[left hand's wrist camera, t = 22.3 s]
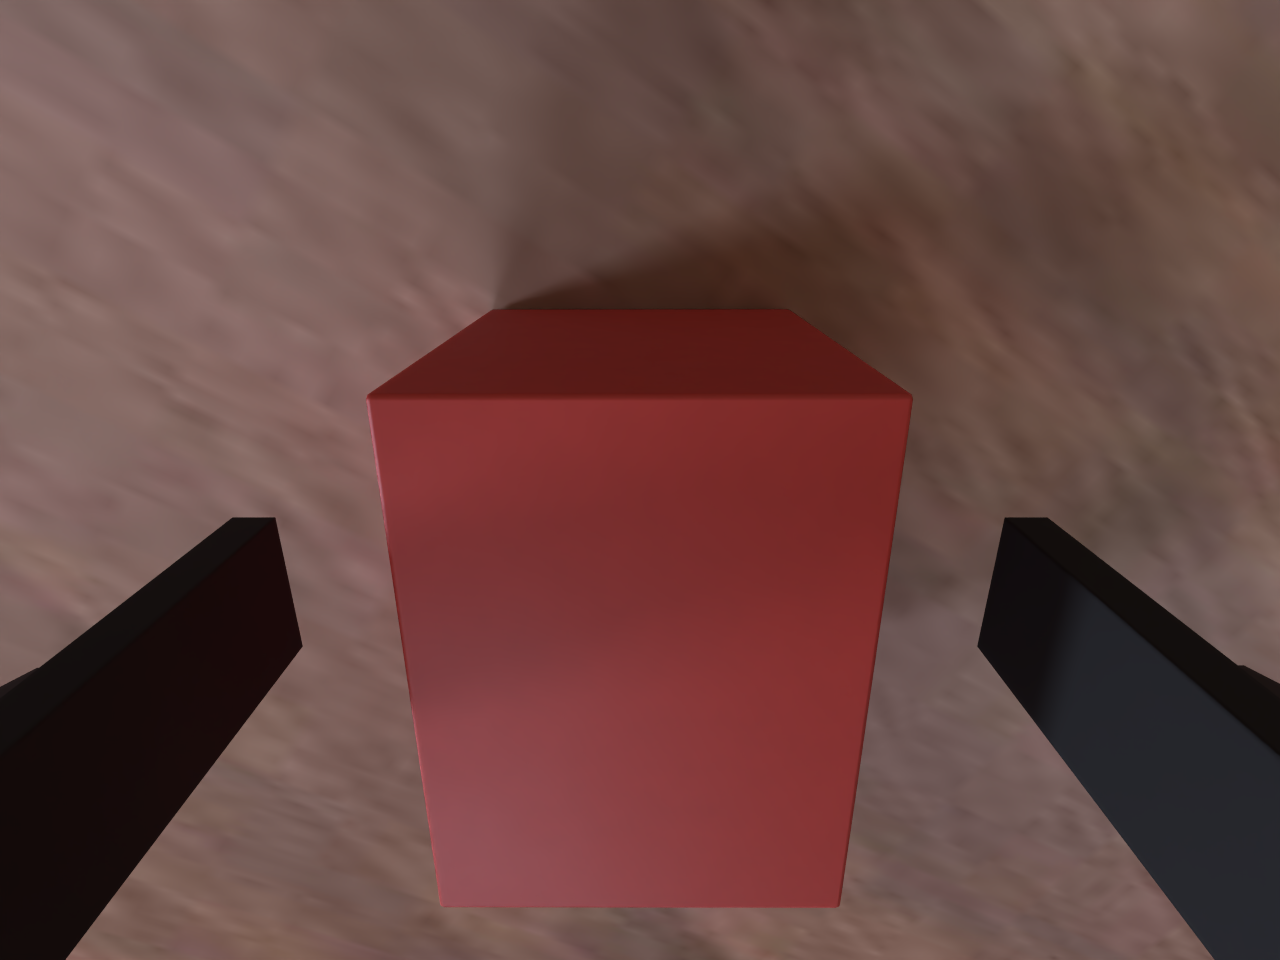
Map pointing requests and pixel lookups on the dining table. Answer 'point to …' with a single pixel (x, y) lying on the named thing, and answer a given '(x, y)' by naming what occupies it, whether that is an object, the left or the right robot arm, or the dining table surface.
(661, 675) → the brick
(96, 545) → the dining table surface
